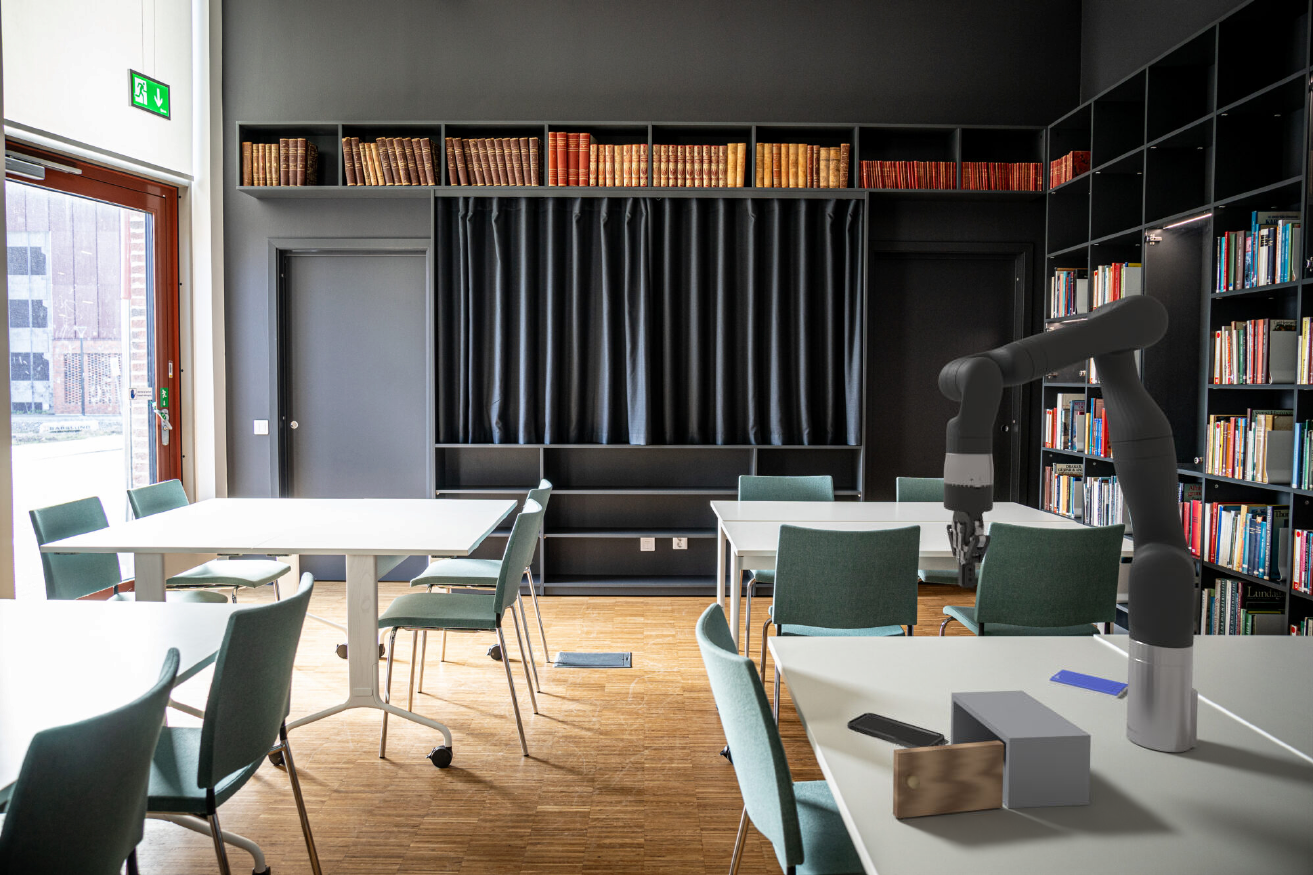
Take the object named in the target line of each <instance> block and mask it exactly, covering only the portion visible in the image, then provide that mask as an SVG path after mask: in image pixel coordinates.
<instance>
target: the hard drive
mask: <svg viewBox="0 0 1313 875" xmlns="http://www.w3.org/2000/svg"><path fill="white" fill-rule="evenodd" d="M1049 684H1051V685H1057V686H1061V687H1064V688H1070V689H1073V690H1078V691H1083V692H1088V693H1090V694H1091V693H1092V694H1097V695H1100V696H1104V697H1105V696H1106V697H1110V698H1114V699H1118V698H1119V697H1120V696H1122V694H1124V693H1125V692H1126V691H1128V683H1125V682H1120V681H1116V680H1111V679H1106V678H1102V677H1097V676H1094V675H1089V674H1085V673H1080V672H1075V671H1071V670H1066V669H1061V670H1060V671H1058V672H1057V673H1055V674H1053V676H1051V677H1050V678H1049Z"/></svg>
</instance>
